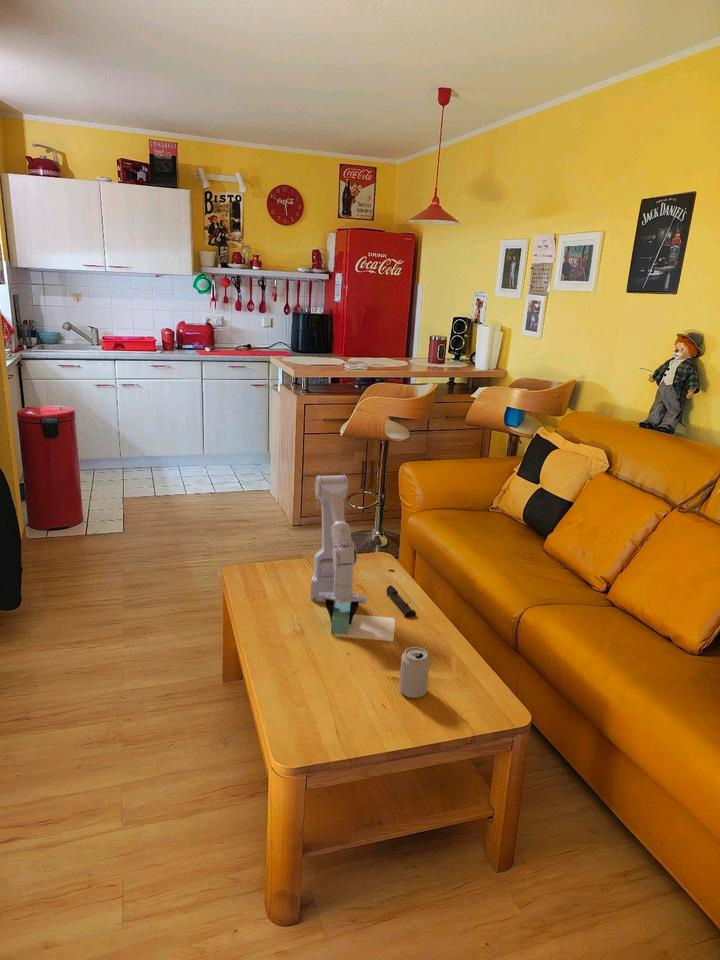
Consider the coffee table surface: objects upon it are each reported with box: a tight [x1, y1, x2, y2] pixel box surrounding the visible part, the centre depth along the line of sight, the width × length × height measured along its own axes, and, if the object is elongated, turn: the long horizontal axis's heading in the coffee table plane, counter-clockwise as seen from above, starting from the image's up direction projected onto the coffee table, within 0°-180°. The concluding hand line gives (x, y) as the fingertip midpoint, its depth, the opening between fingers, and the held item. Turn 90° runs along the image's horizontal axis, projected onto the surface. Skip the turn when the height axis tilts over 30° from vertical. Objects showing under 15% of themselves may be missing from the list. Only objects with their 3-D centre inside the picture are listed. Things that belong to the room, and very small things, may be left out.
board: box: [333, 614, 396, 642], centre depth 205 cm, size 18×14×2 cm
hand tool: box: [386, 585, 417, 618], centre depth 221 cm, size 19×4×5 cm, turn 19°
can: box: [398, 646, 431, 699], centre depth 175 cm, size 8×8×12 cm
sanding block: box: [330, 601, 351, 634], centre depth 205 cm, size 5×11×5 cm, turn 175°
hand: (341, 622), depth 205 cm, fingers closed on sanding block, 5 cm apart
